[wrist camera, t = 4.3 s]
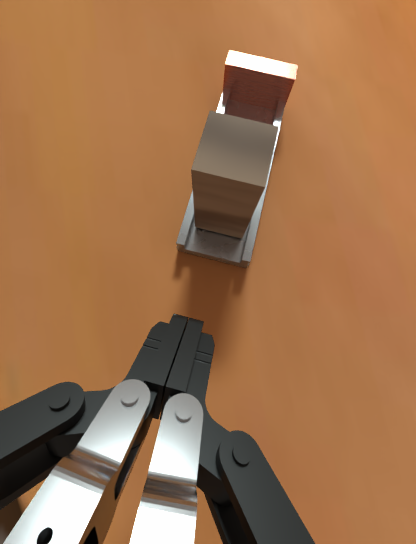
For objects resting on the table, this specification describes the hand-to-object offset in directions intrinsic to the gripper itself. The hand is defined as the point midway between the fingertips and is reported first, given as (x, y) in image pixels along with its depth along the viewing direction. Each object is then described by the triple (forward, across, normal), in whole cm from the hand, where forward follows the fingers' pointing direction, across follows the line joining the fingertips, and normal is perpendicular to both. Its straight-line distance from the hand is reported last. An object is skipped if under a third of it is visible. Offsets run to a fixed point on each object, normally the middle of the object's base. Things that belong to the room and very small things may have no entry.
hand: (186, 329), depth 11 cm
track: (+22, 0, -4) cm, 22 cm away
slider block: (+16, 0, -1) cm, 16 cm away
